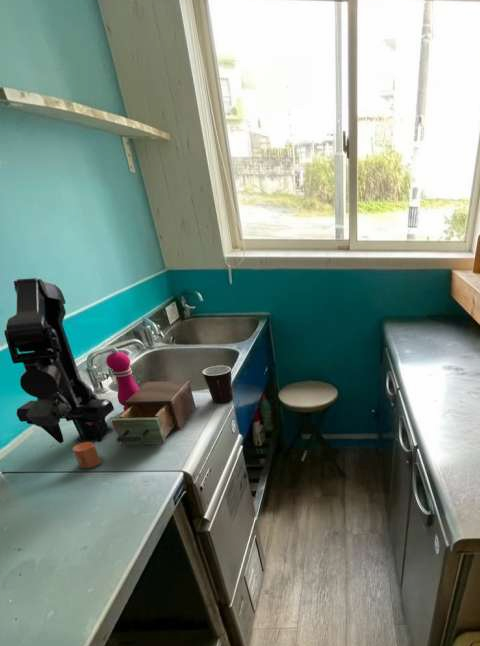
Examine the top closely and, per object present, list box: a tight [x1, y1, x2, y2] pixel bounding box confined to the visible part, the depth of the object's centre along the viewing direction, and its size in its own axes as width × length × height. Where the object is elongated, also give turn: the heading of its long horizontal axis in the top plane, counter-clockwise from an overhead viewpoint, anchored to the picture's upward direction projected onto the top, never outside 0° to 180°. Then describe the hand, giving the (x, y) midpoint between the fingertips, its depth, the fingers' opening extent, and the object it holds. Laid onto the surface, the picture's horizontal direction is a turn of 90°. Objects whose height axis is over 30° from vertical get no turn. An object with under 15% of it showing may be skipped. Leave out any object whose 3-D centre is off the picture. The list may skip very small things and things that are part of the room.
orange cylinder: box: [72, 441, 102, 469], centre depth 96 cm, size 4×6×5 cm
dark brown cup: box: [202, 365, 234, 405], centre depth 126 cm, size 12×9×10 cm
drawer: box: [111, 404, 176, 446], centre depth 106 cm, size 18×11×7 cm, turn 2°
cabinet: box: [125, 380, 197, 431], centre depth 116 cm, size 15×13×9 cm
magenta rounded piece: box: [106, 347, 141, 413], centre depth 117 cm, size 7×7×20 cm
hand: (81, 442), depth 95 cm, fingers open, 9 cm apart
